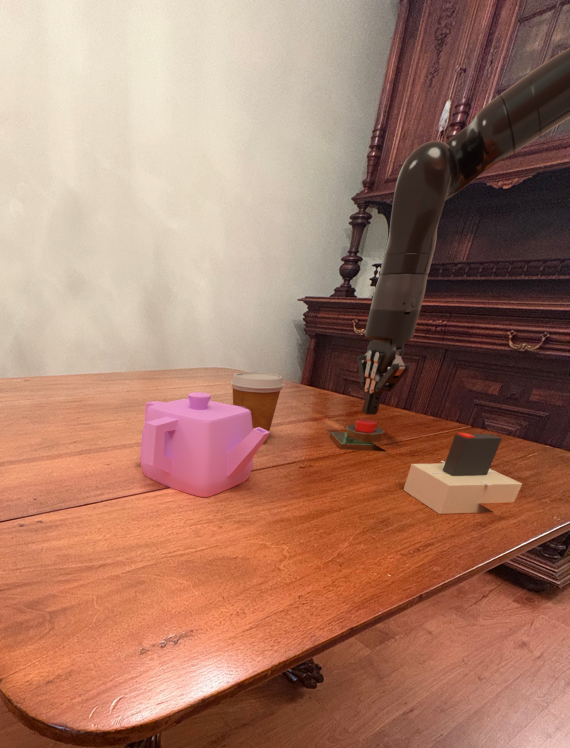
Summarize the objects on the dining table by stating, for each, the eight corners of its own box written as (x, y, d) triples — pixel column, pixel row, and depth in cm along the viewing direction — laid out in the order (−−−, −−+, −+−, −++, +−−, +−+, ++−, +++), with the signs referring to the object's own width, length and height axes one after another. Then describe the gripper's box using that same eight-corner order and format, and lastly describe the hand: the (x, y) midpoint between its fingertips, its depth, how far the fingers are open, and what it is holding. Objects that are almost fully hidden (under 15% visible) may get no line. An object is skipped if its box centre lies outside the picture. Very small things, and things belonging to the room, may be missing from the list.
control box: (463, 486, 63) (474, 460, 61) (513, 513, 56) (527, 484, 53) (400, 488, 63) (409, 461, 60) (442, 516, 55) (453, 486, 53)
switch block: (380, 439, 84) (384, 424, 83) (395, 452, 78) (400, 436, 76) (329, 437, 85) (332, 422, 84) (339, 449, 78) (343, 433, 77)
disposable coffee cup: (258, 432, 87) (266, 370, 81) (284, 446, 80) (295, 378, 74) (216, 436, 85) (222, 372, 79) (240, 450, 77) (247, 381, 71)
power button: (371, 428, 82) (373, 419, 81) (377, 433, 78) (380, 424, 78) (351, 428, 82) (354, 418, 81) (357, 433, 79) (359, 423, 78)
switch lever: (475, 469, 58) (491, 431, 56) (487, 475, 56) (503, 436, 54) (442, 470, 58) (455, 432, 55) (452, 475, 56) (466, 436, 53)
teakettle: (141, 458, 72) (140, 382, 66) (240, 459, 73) (248, 383, 67) (138, 499, 58) (136, 406, 51) (262, 500, 58) (275, 407, 52)
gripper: (354, 306, 75) (334, 406, 84) (396, 308, 64) (368, 423, 73) (394, 306, 76) (370, 405, 85) (443, 308, 65) (409, 422, 73)
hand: (369, 413), depth 79 cm, fingers closed
